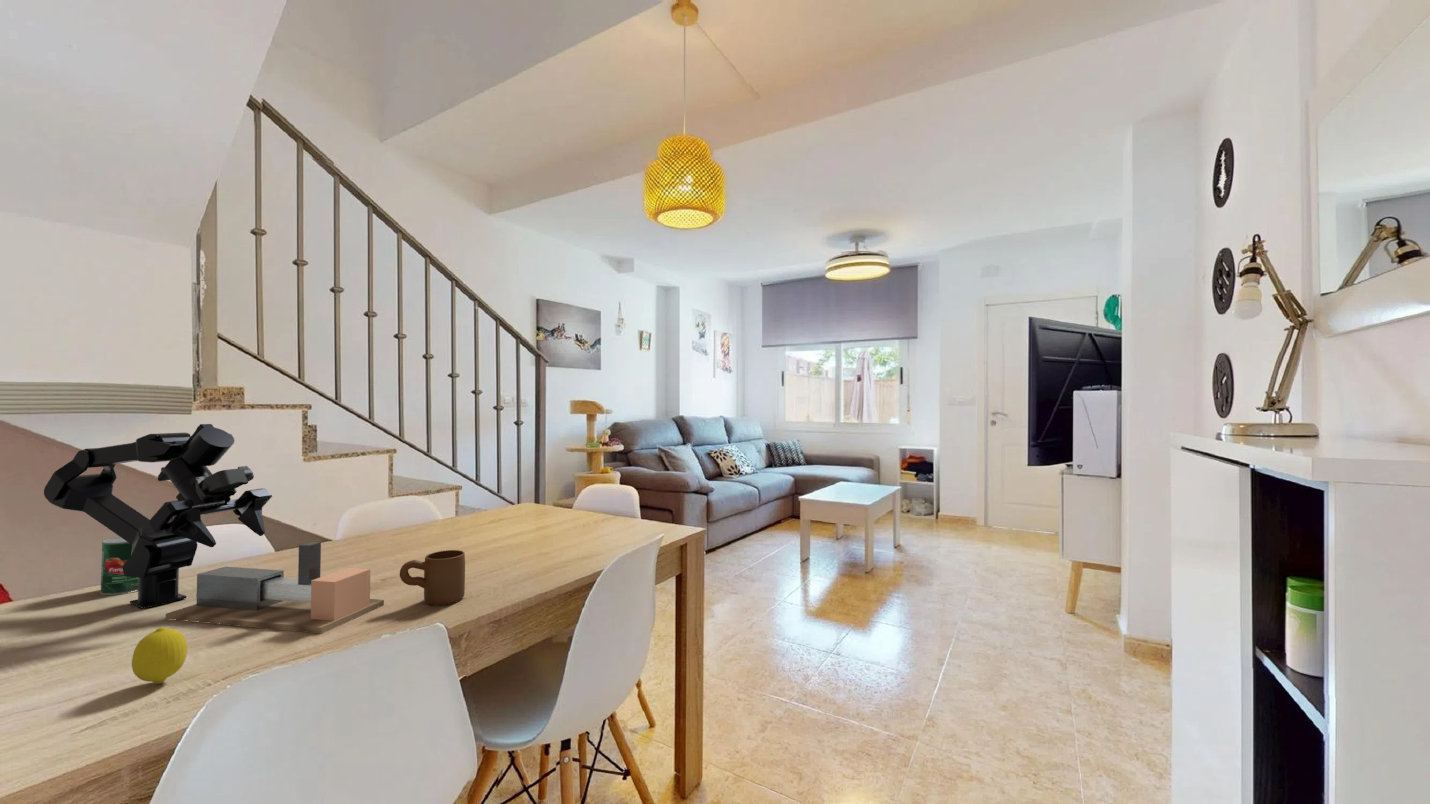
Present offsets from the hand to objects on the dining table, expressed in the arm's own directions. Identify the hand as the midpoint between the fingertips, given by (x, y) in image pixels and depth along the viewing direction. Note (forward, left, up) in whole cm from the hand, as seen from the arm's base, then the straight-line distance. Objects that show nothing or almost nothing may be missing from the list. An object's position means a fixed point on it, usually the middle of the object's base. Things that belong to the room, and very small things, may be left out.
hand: (239, 539), depth 106 cm
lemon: (+25, -20, -14) cm, 35 cm away
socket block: (+23, +6, -12) cm, 27 cm away
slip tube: (+11, +3, -11) cm, 16 cm away
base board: (+9, +2, -13) cm, 17 cm away
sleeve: (0, 0, -12) cm, 13 cm away
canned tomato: (-35, -4, -14) cm, 38 cm away
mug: (+31, +19, -14) cm, 39 cm away
